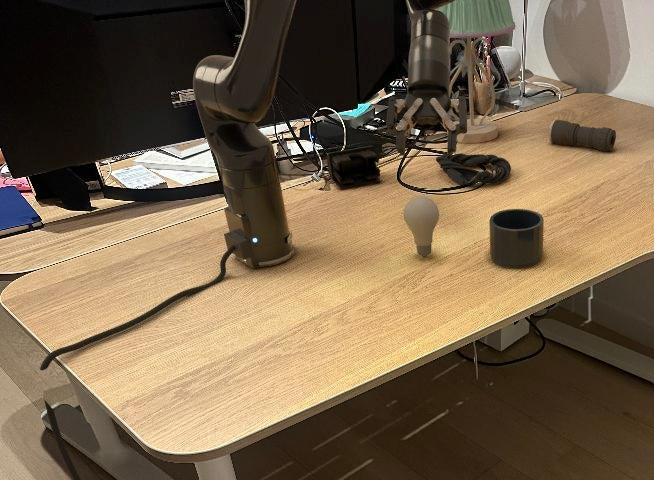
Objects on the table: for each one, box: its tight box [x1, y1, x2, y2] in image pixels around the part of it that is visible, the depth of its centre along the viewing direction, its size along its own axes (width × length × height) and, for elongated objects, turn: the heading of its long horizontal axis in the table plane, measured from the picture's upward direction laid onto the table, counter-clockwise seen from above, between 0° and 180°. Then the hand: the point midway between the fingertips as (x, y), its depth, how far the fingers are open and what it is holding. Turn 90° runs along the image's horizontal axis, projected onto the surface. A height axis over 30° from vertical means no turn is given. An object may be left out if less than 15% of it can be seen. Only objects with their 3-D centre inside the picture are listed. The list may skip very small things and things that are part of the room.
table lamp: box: [435, 0, 517, 144], centre depth 176 cm, size 22×22×40 cm
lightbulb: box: [402, 195, 440, 258], centre depth 129 cm, size 6×6×11 cm
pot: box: [488, 208, 545, 269], centre depth 130 cm, size 9×9×7 cm
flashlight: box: [548, 118, 617, 152], centre depth 177 cm, size 15×5×5 cm, turn 62°
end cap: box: [326, 145, 382, 191], centre depth 161 cm, size 10×7×7 cm
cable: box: [435, 152, 512, 187], centre depth 164 cm, size 17×14×4 cm
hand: (426, 154), depth 132 cm, fingers open, 8 cm apart
